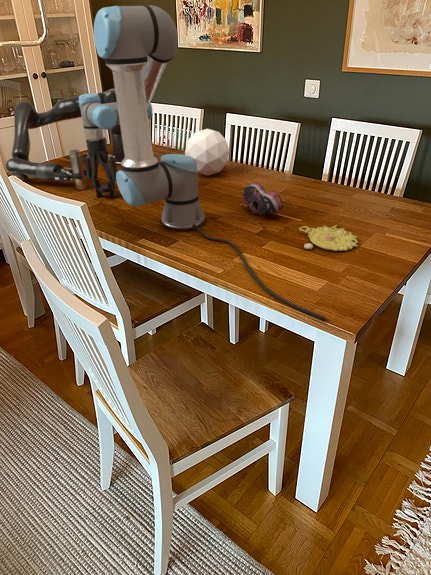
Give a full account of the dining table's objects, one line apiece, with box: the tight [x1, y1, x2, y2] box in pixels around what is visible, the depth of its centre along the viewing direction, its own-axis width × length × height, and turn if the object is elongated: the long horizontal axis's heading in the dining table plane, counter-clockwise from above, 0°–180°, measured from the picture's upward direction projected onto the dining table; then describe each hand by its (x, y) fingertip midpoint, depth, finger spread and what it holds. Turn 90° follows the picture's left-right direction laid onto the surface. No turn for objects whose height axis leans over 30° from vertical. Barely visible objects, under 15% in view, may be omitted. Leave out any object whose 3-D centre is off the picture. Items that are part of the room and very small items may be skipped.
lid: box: [97, 183, 109, 194], centre depth 177 cm, size 5×5×2 cm
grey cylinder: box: [68, 149, 88, 191], centre depth 184 cm, size 4×4×16 cm
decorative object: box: [299, 224, 359, 252], centre depth 141 cm, size 21×2×20 cm
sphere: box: [184, 128, 231, 177], centre depth 195 cm, size 19×20×20 cm
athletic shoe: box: [238, 182, 284, 217], centre depth 160 cm, size 11×22×12 cm
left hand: (84, 175), depth 185 cm, fingers closed on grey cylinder, 4 cm apart
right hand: (105, 196), depth 179 cm, fingers closed on lid, 5 cm apart
